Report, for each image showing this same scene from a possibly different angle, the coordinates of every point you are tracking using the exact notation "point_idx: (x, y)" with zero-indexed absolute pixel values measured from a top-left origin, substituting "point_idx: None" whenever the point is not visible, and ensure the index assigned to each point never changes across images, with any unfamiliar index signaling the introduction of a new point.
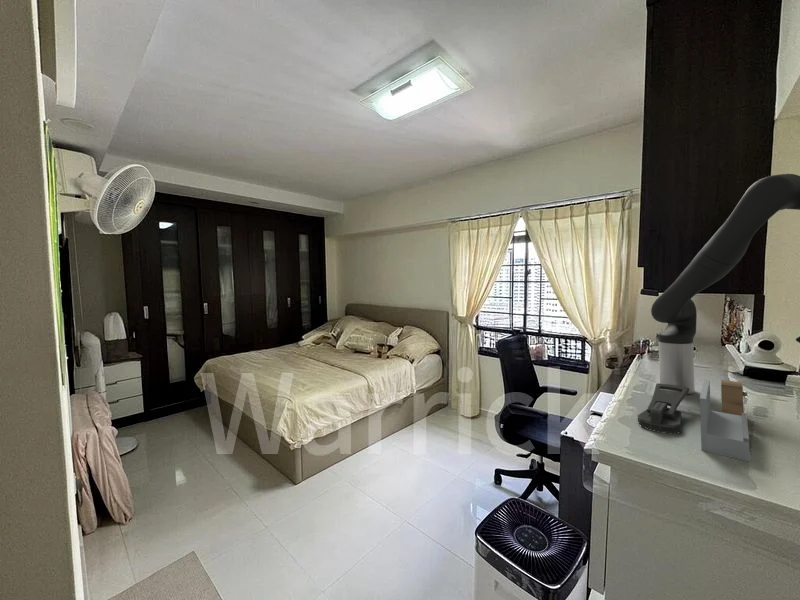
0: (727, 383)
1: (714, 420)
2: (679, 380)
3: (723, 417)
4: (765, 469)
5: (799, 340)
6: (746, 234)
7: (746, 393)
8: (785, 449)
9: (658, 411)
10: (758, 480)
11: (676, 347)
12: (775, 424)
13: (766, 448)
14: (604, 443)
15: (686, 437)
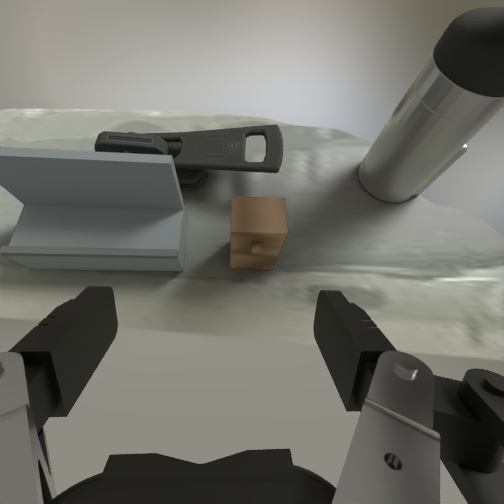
0: (251, 207)
1: (116, 214)
2: (375, 161)
3: (146, 226)
4: (4, 285)
5: (321, 305)
6: None
7: (252, 248)
8: (122, 317)
9: (97, 140)
10: None
11: (428, 79)
12: (268, 314)
13: None
14: (10, 118)
15: None
